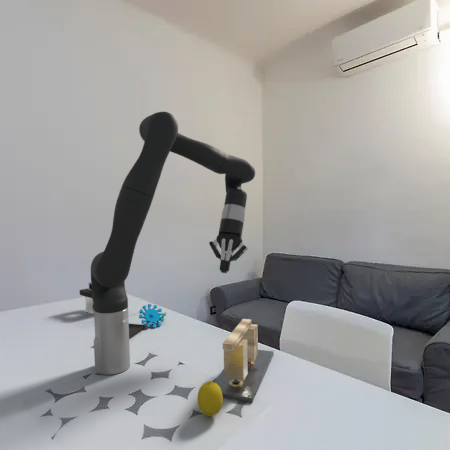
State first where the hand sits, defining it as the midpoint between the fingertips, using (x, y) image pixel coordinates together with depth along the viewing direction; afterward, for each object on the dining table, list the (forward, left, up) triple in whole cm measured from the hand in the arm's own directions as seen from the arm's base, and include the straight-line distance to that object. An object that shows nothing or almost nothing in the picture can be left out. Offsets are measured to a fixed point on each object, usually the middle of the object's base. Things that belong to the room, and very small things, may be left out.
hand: (223, 272), depth 117 cm
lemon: (-11, -36, -24) cm, 45 cm away
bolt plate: (+1, -19, -24) cm, 31 cm away
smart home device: (-33, +17, -25) cm, 45 cm away
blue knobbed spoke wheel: (-22, +26, -24) cm, 42 cm away
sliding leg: (-1, -23, -22) cm, 32 cm away
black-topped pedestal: (-45, +47, -25) cm, 70 cm away
